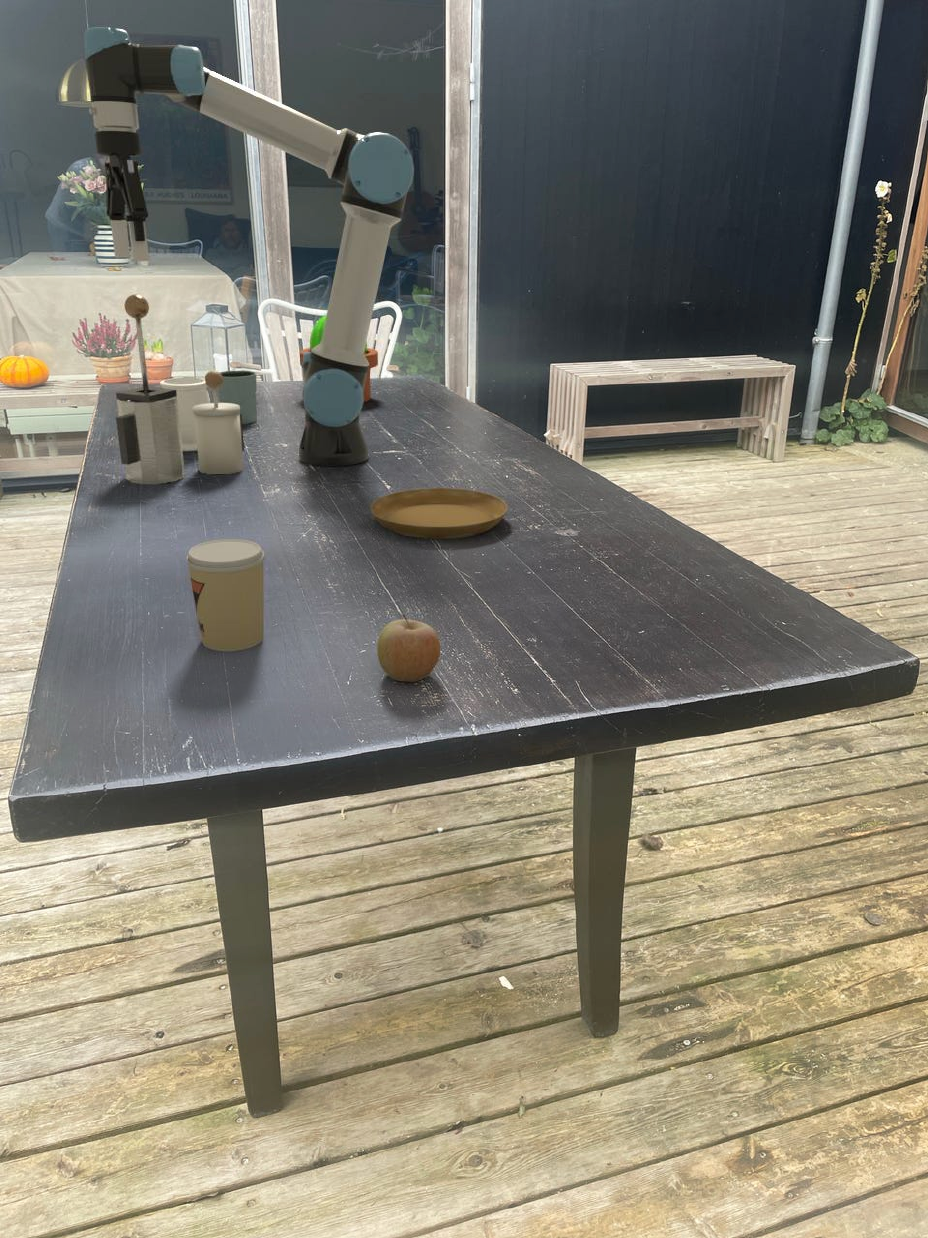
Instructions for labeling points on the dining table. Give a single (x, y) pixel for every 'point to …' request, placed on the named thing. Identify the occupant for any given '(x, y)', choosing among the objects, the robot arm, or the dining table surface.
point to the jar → (188, 406)
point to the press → (150, 435)
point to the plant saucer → (438, 512)
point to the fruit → (408, 649)
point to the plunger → (139, 330)
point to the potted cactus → (369, 353)
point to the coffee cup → (228, 593)
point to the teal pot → (240, 392)
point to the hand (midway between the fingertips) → (131, 259)
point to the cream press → (218, 432)
